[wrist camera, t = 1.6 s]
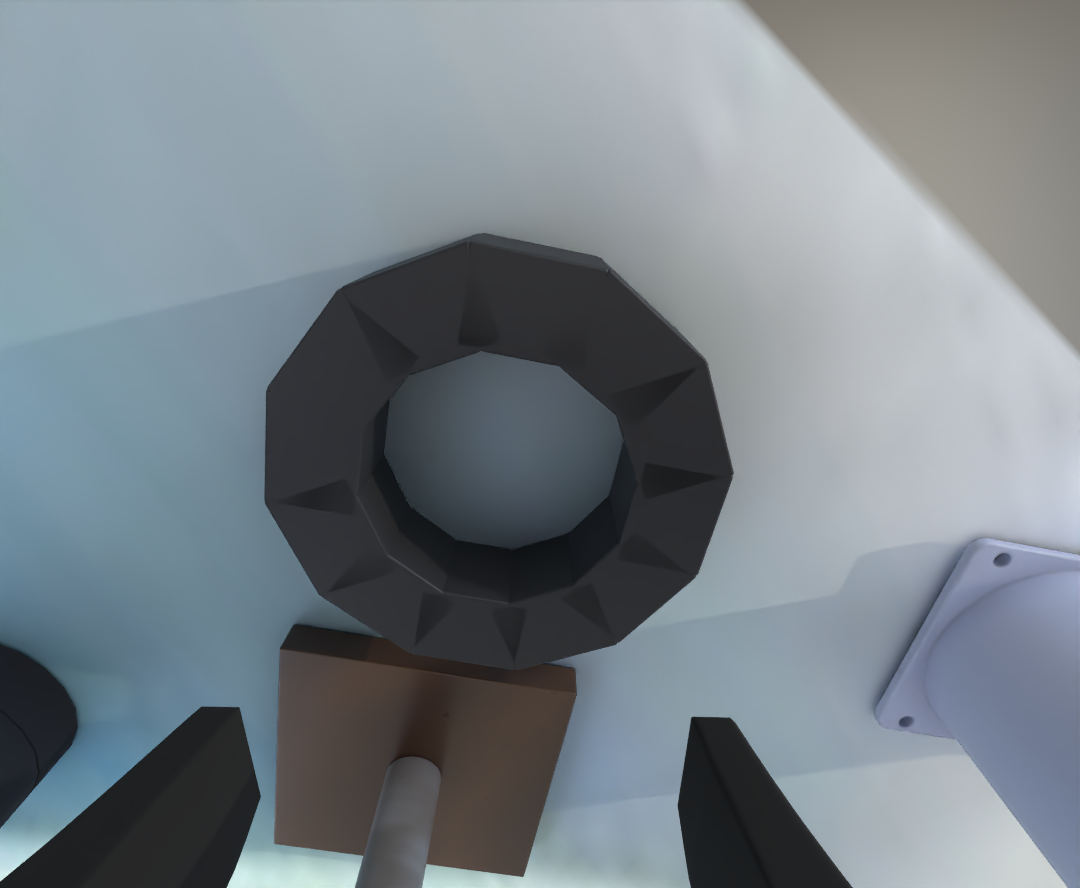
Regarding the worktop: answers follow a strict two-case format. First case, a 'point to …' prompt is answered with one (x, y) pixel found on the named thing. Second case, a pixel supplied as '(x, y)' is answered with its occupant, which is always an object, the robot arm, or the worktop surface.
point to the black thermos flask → (29, 727)
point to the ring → (473, 569)
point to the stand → (413, 756)
